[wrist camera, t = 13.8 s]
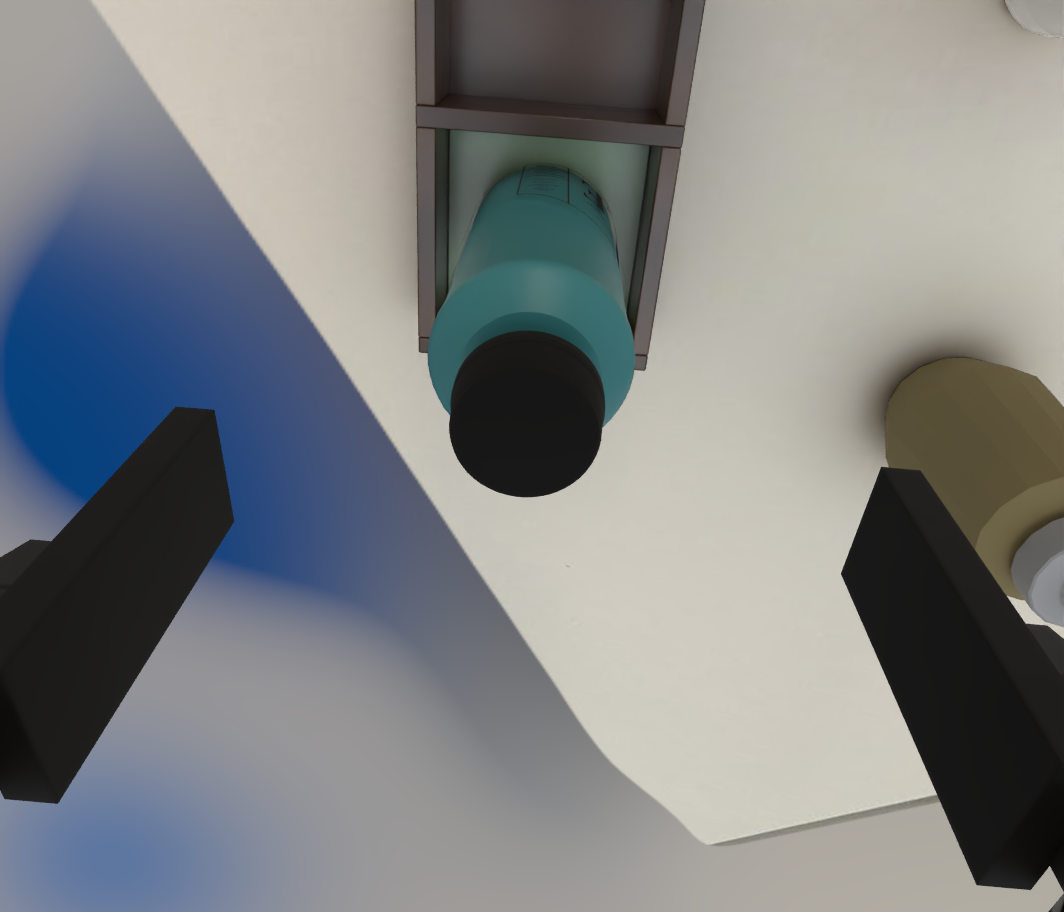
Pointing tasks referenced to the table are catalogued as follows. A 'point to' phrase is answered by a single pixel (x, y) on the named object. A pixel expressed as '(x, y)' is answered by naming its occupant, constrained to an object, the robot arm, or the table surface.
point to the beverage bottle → (533, 335)
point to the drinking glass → (1039, 16)
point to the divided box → (552, 123)
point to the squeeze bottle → (990, 467)
